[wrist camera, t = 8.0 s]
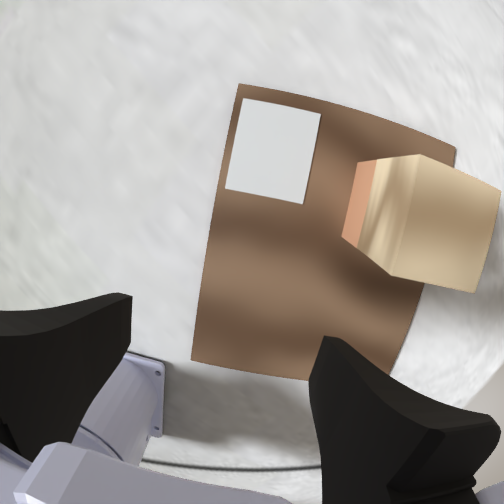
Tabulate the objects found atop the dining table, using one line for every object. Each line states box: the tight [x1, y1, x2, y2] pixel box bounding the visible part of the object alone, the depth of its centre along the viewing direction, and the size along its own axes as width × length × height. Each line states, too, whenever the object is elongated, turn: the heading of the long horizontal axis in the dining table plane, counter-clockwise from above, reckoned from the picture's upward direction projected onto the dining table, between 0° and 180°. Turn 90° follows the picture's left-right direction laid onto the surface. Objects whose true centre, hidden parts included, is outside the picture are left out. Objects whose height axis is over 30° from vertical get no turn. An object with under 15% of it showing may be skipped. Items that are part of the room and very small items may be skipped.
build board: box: [191, 84, 455, 381], centre depth 20 cm, size 20×16×1 cm
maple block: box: [357, 154, 501, 294], centre depth 13 cm, size 5×5×5 cm
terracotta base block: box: [341, 160, 377, 248], centre depth 17 cm, size 5×5×4 cm
